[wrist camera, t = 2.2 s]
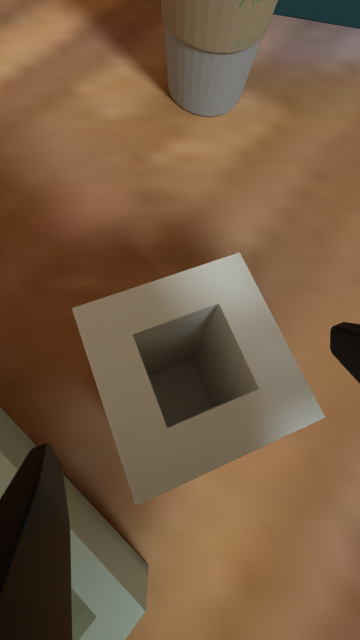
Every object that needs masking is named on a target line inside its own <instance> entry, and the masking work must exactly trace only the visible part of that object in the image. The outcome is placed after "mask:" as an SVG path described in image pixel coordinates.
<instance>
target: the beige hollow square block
mask: <svg viewBox="0 0 360 640" xmlns="http://www.w3.org/2000/svg"><path fill="white" fill-rule="evenodd" d="M72 311H73V314H74V317H75V320H76V323H77V326H78V329H79V333H80V336H81V339H82V342H83V345H84V348H85V351H86V354H87V357H88V360H89V364H90V367H91V370H92V373H93V376H94V379H95V382H96V385H97V388H98V391H99V394H100V398H101V401H102V404H103V407H104V410H105V413H106V416H107V419H108V422H109V425H110V429H111V432H112V435H113V438H114V441H115V444H116V447H117V450H118V453H119V456H120V460H121V463H122V466H123V469H124V472H125V475H126V478H127V481H128V484H129V487H130V491H131V494H132V497H133V500H134V503H135V506H137V505H139V504H141V503H144V502H146V501H148V500H150V499H152V498H154V497H156V496H159V495H161V494H163V493H165V492H167V491H169V490H171V489H173V488H176V487H178V486H180V485H182V484H184V483H186V482H188V481H191V480H193V479H195V478H197V477H199V476H201V475H203V474H205V473H208V472H210V471H212V470H214V469H216V468H218V467H220V466H223V465H225V464H227V463H229V462H231V461H233V460H235V459H237V458H240V457H242V456H244V455H246V454H248V453H250V452H252V451H255V450H257V449H259V448H261V447H263V446H265V445H267V444H269V443H272V442H274V441H276V440H278V439H280V438H282V437H284V436H287V435H289V434H291V433H293V432H295V431H297V430H299V429H301V428H304V427H306V426H308V425H310V424H312V423H314V422H316V421H319V420H321V419H323V418H325V416H324V414H323V412H322V410H321V408H320V406H319V404H318V402H317V400H316V398H315V397H314V395H313V393H312V391H311V389H310V387H309V385H308V383H307V381H306V379H305V377H304V375H303V373H302V371H301V370H300V368H299V366H298V364H297V362H296V360H295V358H294V356H293V354H292V352H291V350H290V348H289V346H288V345H287V343H286V341H285V339H284V337H283V335H282V333H281V331H280V329H279V327H278V325H277V323H276V321H275V319H274V318H273V316H272V314H271V312H270V310H269V308H268V306H267V304H266V302H265V300H264V298H263V296H262V294H261V292H260V291H259V289H258V287H257V285H256V283H255V281H254V279H253V277H252V275H251V273H250V271H249V269H248V267H247V265H246V264H245V262H244V260H243V258H242V256H241V254H240V252H239V253H236V254H233V255H230V256H227V257H224V258H221V259H218V260H215V261H212V262H209V263H206V264H203V265H200V266H197V267H194V268H191V269H188V270H185V271H182V272H179V273H176V274H173V275H170V276H167V277H164V278H161V279H158V280H155V281H152V282H149V283H146V284H143V285H140V286H137V287H134V288H131V289H128V290H125V291H122V292H119V293H116V294H113V295H110V296H107V297H104V298H101V299H98V300H95V301H92V302H89V303H86V304H83V305H80V306H77V307H74V308H72Z"/></svg>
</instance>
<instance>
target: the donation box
mask: <svg viewBox="0 0 360 640" xmlns="http://www.w3.org/2000/svg"><path fill="white" fill-rule="evenodd" d="M273 14H277V15H282V16H291V17H297V18H302V19H308V20H312V21H318V22H324V23H330V24H335V25H336V24H338V25H344V26H350V27H353V28H359V29H360V0H278V2H277V4H276V7H275V10H274V13H273Z"/></svg>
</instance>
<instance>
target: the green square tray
mask: <svg viewBox="0 0 360 640" xmlns="http://www.w3.org/2000/svg"><path fill="white" fill-rule="evenodd" d="M34 447H36V445H35V444H34V443H33V441H32V440H31V439H30V438H29V437H28V436H27V435H26V434H25V433H24V432H23V431H22V430H21V429H20V428H19V426H18V425H17V424H16V423H15V422H14V421H13V420H12V419H11V418H10V417H9V416H8V415H7V414H6V413H5V412H4V410H3V409H2V408H1V407H0V498H1V496H2V495H3V493H4V492H5V490H6V488H7V487H8V485H9V484H10V482H11V480H12V479H13V477H14V475H15V474H16V472H17V471H18V469H19V467H20V466H21V464H22V463H23V461H24V459H25V458H26V456H27V454H28V453H29V451H30V450H31V449H32V448H34ZM63 476H64V475H63ZM64 483H65V491H66V498H67V506H68V513H69V522H70V539H71V594H72V640H125V639H126V638H127V637H128V635H129V634H130V632H131V631H132V630H133V628H134V627H135V626H136V624H137V623H138V622H139V620H140V619H141V617H142V616H143V615H144V613H145V612H146V598H147V579H148V564H147V563H146V562H145V561H144V560H143V559H142V558H141V557H140V556H139V555H138V554H137V553H136V552H135V550H134V549H133V548H132V547H131V546H130V545H129V544H128V543H127V542H126V541H125V540H124V539H123V538H122V537H121V535H120V534H119V533H118V532H117V531H116V530H115V529H114V528H113V527H112V526H111V525H110V524H109V523H108V522H107V521H106V519H105V518H104V517H103V516H102V515H101V514H100V513H99V512H98V511H97V510H96V509H95V508H94V507H93V506H92V504H91V503H90V502H89V501H88V500H87V499H86V498H85V497H84V496H83V495H82V494H81V493H80V492H79V491H78V490H77V488H76V487H75V486H74V485H73V484H72V483H71V482H70V481H69V480H68V479H67V478H66V477H65V476H64Z"/></svg>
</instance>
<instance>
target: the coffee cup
mask: <svg viewBox="0 0 360 640" xmlns="http://www.w3.org/2000/svg"><path fill="white" fill-rule="evenodd" d="M160 2H161V16H162V19H163V22H164V29H165V44H166V60H167V75H168V90H169V93H170V96H171V97H172V99H173V100H174V101H175V102H176V103H177V104H178V105H179V106H180V107H182V108H183V109H185V110H186V111H188V112H190V113H193V114H196V115H200V116H205V117H213V116H219V115H222V114H224V113H226V112H228V111H230V110H231V109H232V108H233V107H234V106H235V105H236V104H237V103H238V101H239V99H240V97H241V94H242V91H243V88H244V86H245V83H246V80H247V77H248V75H249V72H250V69H251V66H252V64H253V61H254V58H255V56H256V53H257V50H258V47H259V45H260V42H261V39H262V37H263V36H264V35H265V33H266V31H267V29H268V26H269V23H270V21H271V18H272V15H273V13H274V10H275V7H276V4H277V2H278V0H160Z"/></svg>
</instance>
